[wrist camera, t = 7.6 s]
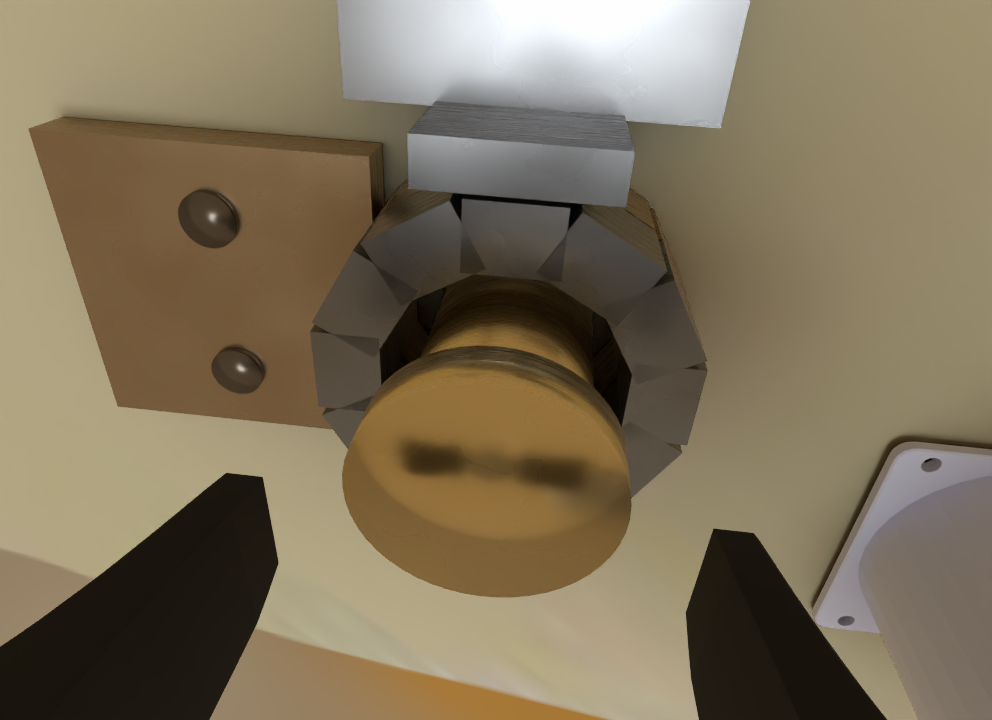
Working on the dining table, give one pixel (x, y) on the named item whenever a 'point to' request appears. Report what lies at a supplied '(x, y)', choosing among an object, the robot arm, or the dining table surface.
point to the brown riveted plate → (222, 258)
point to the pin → (494, 448)
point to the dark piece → (529, 183)
